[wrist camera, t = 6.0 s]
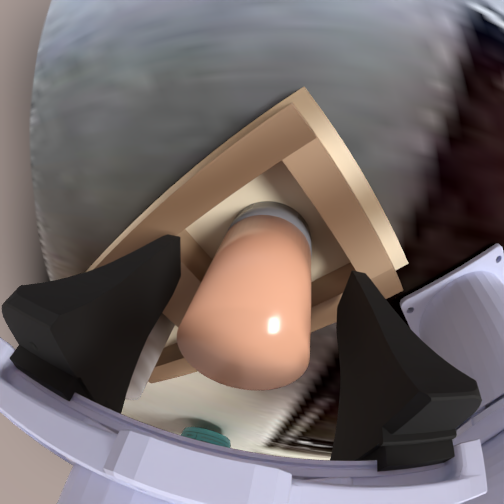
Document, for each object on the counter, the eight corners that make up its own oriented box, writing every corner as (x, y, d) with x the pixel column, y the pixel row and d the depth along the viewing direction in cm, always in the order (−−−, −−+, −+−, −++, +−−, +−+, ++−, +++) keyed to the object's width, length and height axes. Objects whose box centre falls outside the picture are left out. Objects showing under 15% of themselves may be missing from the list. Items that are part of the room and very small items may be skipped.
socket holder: (402, 251, 14) (445, 352, 8) (161, 358, 23) (131, 425, 17) (303, 87, 11) (307, 76, 5) (78, 279, 20) (27, 340, 14)
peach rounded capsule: (326, 252, 14) (333, 373, 8) (259, 284, 15) (231, 397, 10) (281, 185, 12) (256, 282, 6) (213, 227, 14) (151, 330, 8)
